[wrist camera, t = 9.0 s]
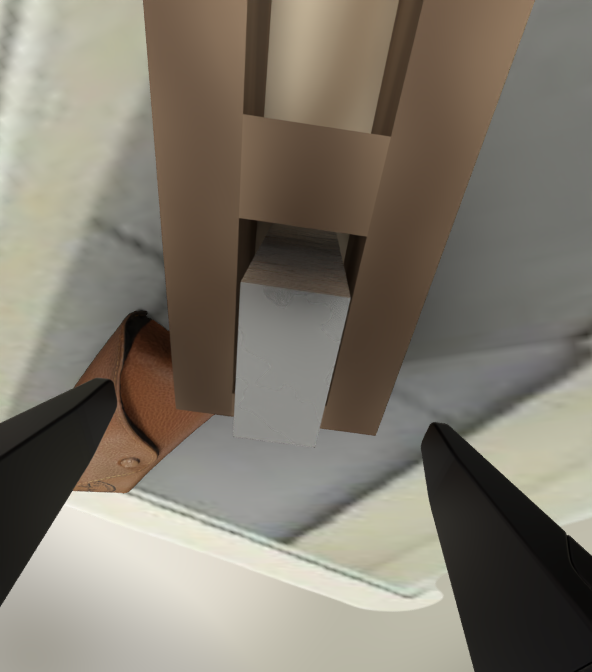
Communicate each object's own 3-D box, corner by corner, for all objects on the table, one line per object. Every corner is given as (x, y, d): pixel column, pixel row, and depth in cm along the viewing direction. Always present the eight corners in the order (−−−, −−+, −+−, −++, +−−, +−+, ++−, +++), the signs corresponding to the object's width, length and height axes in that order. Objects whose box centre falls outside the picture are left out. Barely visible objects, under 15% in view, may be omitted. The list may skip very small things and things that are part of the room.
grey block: (335, 230, 16) (350, 298, 9) (315, 336, 19) (314, 447, 12) (273, 220, 16) (240, 281, 9) (263, 328, 19) (233, 436, 12)
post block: (543, -232, 9) (735, -549, 5) (363, 374, 21) (375, 435, 16) (195, -294, 9) (88, -680, 5) (205, 352, 20) (175, 409, 16)
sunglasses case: (128, 499, 29) (44, 555, 23) (88, 434, 30) (-2, 470, 24) (252, 383, 21) (174, 420, 15) (192, 303, 23) (99, 309, 17)
